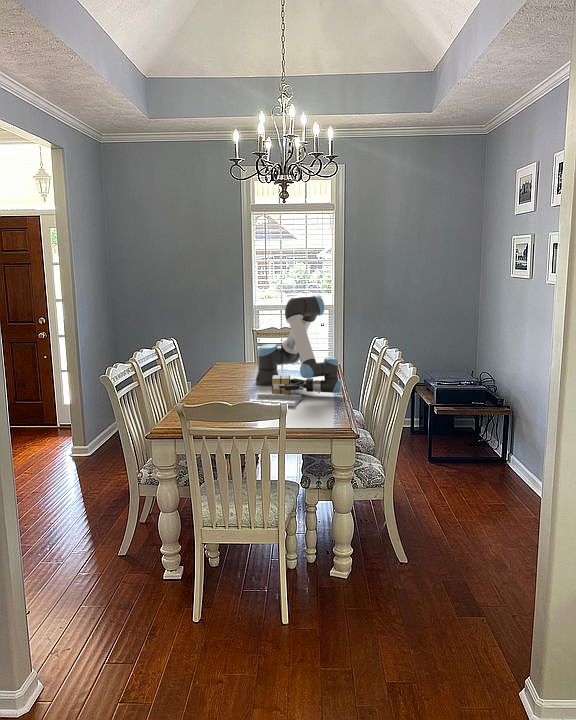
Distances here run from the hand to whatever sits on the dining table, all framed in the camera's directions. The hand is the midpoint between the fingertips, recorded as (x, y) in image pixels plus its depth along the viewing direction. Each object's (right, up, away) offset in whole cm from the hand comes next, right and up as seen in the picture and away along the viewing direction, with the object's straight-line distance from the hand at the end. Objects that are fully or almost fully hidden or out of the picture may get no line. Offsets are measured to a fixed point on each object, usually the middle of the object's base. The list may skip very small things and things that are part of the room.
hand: (276, 383), depth 334 cm
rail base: (0, -9, -19) cm, 21 cm away
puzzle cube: (+3, -6, +1) cm, 7 cm away
